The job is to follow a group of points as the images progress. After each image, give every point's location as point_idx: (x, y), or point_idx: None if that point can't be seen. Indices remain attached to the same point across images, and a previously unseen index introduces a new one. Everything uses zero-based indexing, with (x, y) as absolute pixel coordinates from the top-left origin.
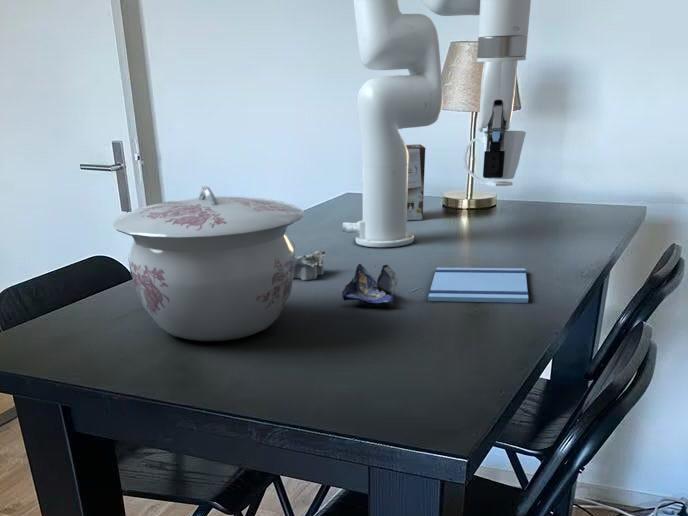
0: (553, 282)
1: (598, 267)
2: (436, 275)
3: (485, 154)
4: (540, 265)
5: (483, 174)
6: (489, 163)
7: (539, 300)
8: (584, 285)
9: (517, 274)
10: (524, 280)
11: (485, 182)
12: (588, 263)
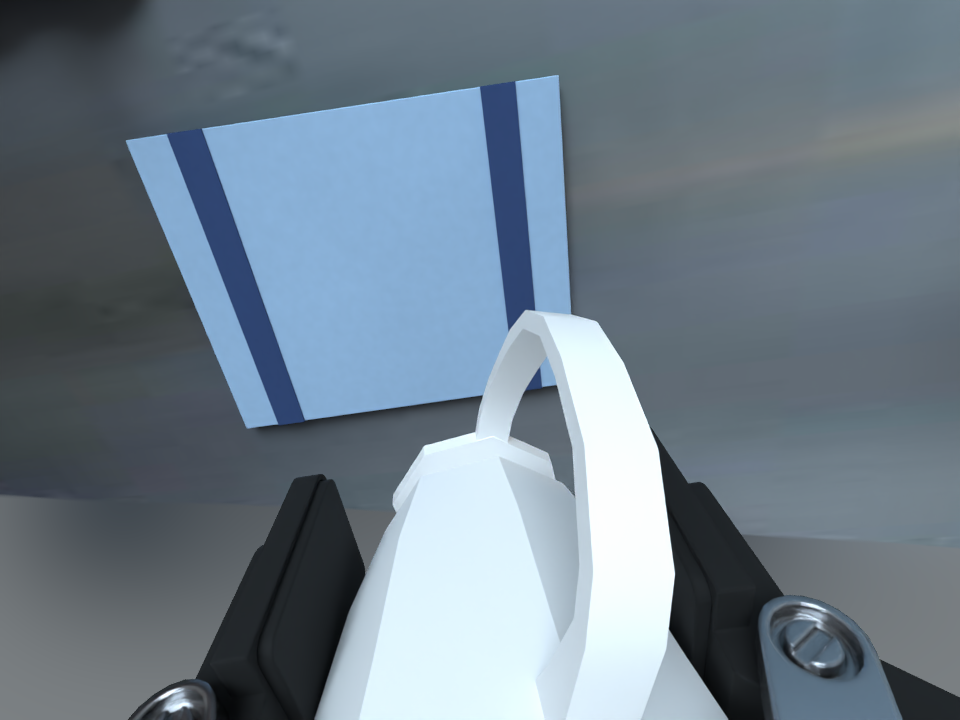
0: None
1: None
2: (428, 104)
3: (225, 641)
4: (666, 403)
5: (293, 490)
6: (233, 602)
7: (289, 441)
8: None
9: None
10: (428, 398)
11: (476, 430)
12: None
